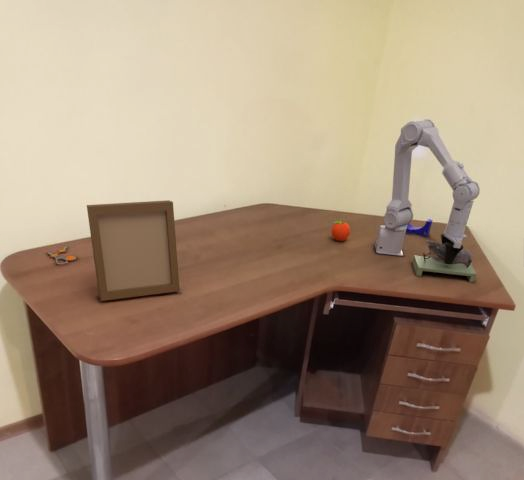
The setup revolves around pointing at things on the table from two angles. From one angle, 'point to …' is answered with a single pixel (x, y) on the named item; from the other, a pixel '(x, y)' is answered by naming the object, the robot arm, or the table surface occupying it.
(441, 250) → the bird
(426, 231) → the blue curved piece
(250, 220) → the table surface
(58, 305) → the table surface
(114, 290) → the photo frame
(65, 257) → the key chain
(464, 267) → the shelf
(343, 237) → the red tomato
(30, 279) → the table surface
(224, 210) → the table surface
